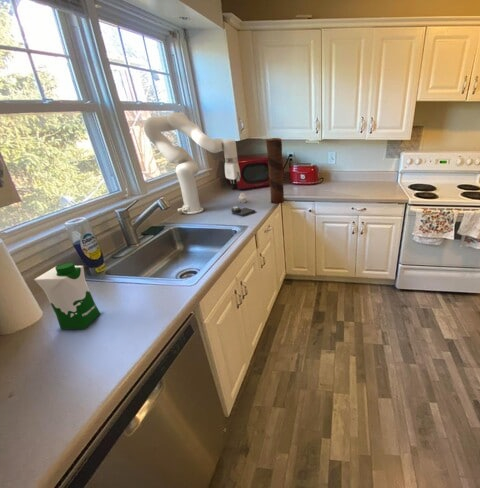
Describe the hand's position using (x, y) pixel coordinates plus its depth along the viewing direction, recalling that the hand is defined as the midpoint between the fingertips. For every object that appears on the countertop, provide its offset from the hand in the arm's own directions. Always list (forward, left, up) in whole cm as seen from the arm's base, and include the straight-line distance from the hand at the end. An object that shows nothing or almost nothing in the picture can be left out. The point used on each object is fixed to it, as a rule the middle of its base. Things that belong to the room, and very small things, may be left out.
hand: (234, 189), depth 182 cm
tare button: (-3, -3, -12) cm, 13 cm away
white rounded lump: (+17, +14, -15) cm, 26 cm away
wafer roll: (+33, -6, -15) cm, 36 cm away
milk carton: (-101, -48, -15) cm, 113 cm away
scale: (0, -6, -15) cm, 16 cm away
